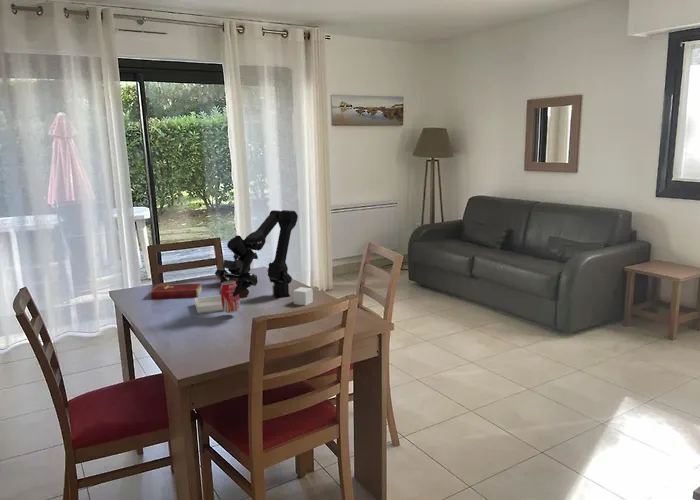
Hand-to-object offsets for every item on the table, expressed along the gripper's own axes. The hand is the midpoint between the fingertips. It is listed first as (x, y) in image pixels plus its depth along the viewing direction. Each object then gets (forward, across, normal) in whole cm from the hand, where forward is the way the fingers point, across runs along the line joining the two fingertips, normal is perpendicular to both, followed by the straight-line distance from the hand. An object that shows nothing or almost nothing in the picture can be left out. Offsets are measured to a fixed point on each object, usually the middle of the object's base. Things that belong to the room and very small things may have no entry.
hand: (226, 295), depth 212 cm
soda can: (+4, +1, +6) cm, 7 cm away
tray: (+1, -14, +12) cm, 18 cm away
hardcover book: (-2, -44, +16) cm, 47 cm away
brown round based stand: (-24, -32, +38) cm, 56 cm away
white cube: (-14, +16, +28) cm, 35 cm away
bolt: (-13, -19, +27) cm, 36 cm away
